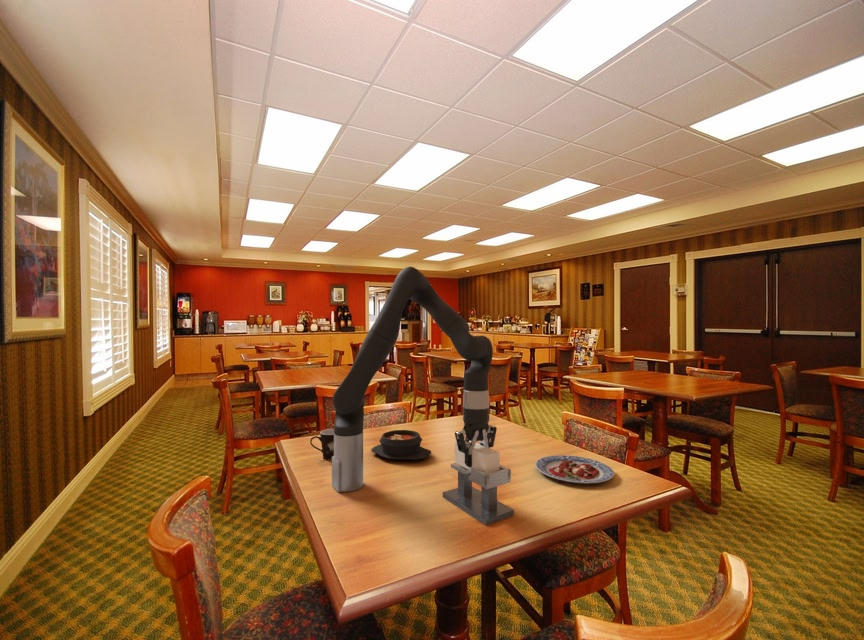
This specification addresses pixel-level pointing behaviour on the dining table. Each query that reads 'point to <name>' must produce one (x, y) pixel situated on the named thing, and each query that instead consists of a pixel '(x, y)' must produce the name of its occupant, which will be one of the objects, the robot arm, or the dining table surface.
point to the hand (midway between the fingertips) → (476, 464)
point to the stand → (480, 494)
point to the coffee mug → (326, 443)
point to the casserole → (401, 446)
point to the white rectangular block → (480, 458)
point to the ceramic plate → (574, 469)
